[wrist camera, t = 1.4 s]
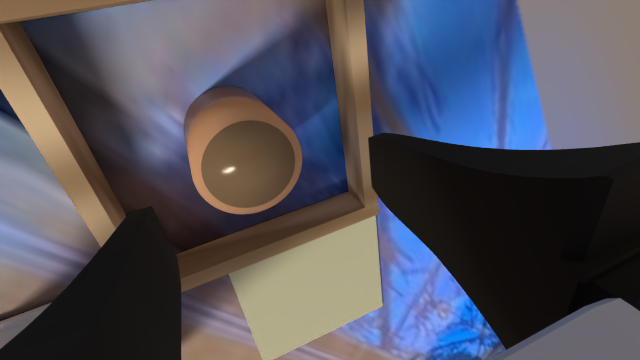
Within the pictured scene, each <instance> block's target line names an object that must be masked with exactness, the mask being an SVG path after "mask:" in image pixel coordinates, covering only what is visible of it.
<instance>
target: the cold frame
mask: <svg viewBox="0 0 640 360" xmlns="http://www.w3.org/2000/svg"><path fill="white" fill-rule="evenodd" d="M145 1H151V0H0V89H1V90H2V92H3V93H4V95H5V97H6V98H7V100H8V101H9V103H10V104H11V106H12V108H13V109H14V111H15V112H16V114H17V115H18V117H19V119H20V120H21V122H22V123H23V125H24V127H25V128H26V130H27V131H28V133H29V134H30V136H31V138H32V139H33V141H34V142H35V144H36V146H37V147H38V149H39V150H40V152H41V153H42V155H43V157H44V158H45V160H46V161H47V163H48V164H49V166H50V168H51V169H52V171H53V172H54V174H55V176H56V177H57V179H58V180H59V182H60V183H61V185H62V187H63V188H64V190H65V191H66V193H67V195H68V196H69V198H70V199H71V201H72V202H73V204H74V206H75V207H76V209H77V210H78V212H79V213H80V215H81V217H82V218H83V220H84V221H85V223H86V225H87V226H88V228H89V229H90V231H91V232H92V234H93V236H94V237H95V239H96V240H97V242H98V243H99V245H100V247H102V246H103V245H104V244H105V242H106V241H107V240H108V239H109V237H110V236H111V235H112V233H113V232H114V231H115V230H116V228H117V227H118V226H119V225H120V223H121V222H122V221H123V220H124V219H125V217H126V214H125V213H124V211H123V209H122V207H121V205H120V203H119V202H118V200H117V198H116V196H115V194H114V193H113V191H112V189H111V187H110V185H109V183H108V182H107V180H106V178H105V176H104V174H103V172H102V171H101V169H100V167H99V165H98V163H97V161H96V160H95V158H94V156H93V154H92V152H91V150H90V149H89V147H88V145H87V143H86V141H85V140H84V138H83V136H82V134H81V132H80V130H79V129H78V127H77V125H76V123H75V121H74V119H73V118H72V116H71V114H70V112H69V110H68V108H67V107H66V105H65V103H64V101H63V99H62V98H61V96H60V94H59V92H58V90H57V88H56V87H55V85H54V83H53V81H52V79H51V77H50V76H49V74H48V72H47V70H46V68H45V66H44V65H43V63H42V61H41V59H40V57H39V55H38V54H37V52H36V50H35V48H34V46H33V45H32V43H31V41H30V39H29V37H28V35H27V34H26V32H25V30H24V28H23V26H22V24H21V23H20V22H22V21H29V20H35V19H41V18H47V17H53V16H59V15H65V14H71V13H77V12H83V11H90V10H96V9H102V8H108V7H114V6H120V5H126V4H132V3H138V2H145ZM325 3H326V11H327V19H328V28H329V36H330V44H331V52H332V60H333V68H334V76H335V85H336V93H337V101H338V109H339V117H340V125H341V134H342V142H343V150H344V158H345V166H346V174H347V182H348V192H345V193H342V194H339V195H337V196H334V197H331V198H328V199H326V200H323V201H320V202H317V203H315V204H312V205H309V206H307V207H304V208H301V209H298V210H296V211H293V212H290V213H287V214H285V215H282V216H279V217H277V218H274V219H271V220H268V221H266V222H263V223H260V224H257V225H255V226H252V227H249V228H246V229H244V230H241V231H238V232H236V233H233V234H230V235H227V236H225V237H222V238H219V239H216V240H214V241H211V242H208V243H206V244H203V245H200V246H197V247H195V248H192V249H189V250H186V251H184V252H181V253H178V254H176V256H177V259H178V266H179V272H180V279H181V293H182V292H184V291H187V290H189V289H192V288H195V287H197V286H200V285H202V284H205V283H207V282H210V281H212V280H215V279H217V278H220V277H222V276H225V275H227V274H230V273H232V272H235V271H237V270H240V269H242V268H245V267H247V266H250V265H252V264H255V263H257V262H260V261H262V260H265V259H267V258H270V257H272V256H275V255H277V254H280V253H282V252H285V251H287V250H290V249H292V248H295V247H298V246H300V245H303V244H305V243H308V242H310V241H313V240H315V239H318V238H320V237H323V236H325V235H328V234H330V233H333V232H335V231H338V230H340V229H343V228H345V227H348V226H350V225H353V224H355V223H358V222H360V221H363V220H365V219H368V218H370V217H373V216H375V215H378V214H379V210H378V196H377V194H376V192H375V191H374V190H373V188H372V184H371V171H370V158H369V145H368V138H369V137H372V136H373V126H372V112H371V97H370V83H369V69H368V55H367V41H366V27H365V13H364V0H325Z"/></svg>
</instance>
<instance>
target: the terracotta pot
mask: <svg viewBox="0 0 640 360" xmlns="http://www.w3.org/2000/svg"><path fill="white" fill-rule="evenodd" d="M184 136H185V142H186V147H187V152H188V158H189V163H190V168H191V174H192V178H193V182H194V184H195V186H196V189H197V190H198V192H199V193H200V195H201V196H202V197H203V198H204V199H205V200H206V201H207V202H208V203H209V204H211V205H212V206H214V207H215V208H217V209H220V210H222V211H225V212H228V213H233V214H252V213H257V212H260V211H264V210H266V209H268V208H270V207H272V206H274V205H276V204H277V203H279V202H280V201H281V200H282V199H284V198H285V197H286V196H287V195H288V194H289V192H290V191H291V190H292V189H293V187H294V186H295V184H296V182H297V180H298V178H299V175H300V172H301V168H302V149H301V146H300V143H299V140H298V138H297V136H296V135H295V133H294V131H293V130H292V129H291V128H290V127H289V126H288V125H287V124H286V123H285V122H284V121H283V120H282V119H281V118H280V117H278V116H277V115H276V114H275V113H274V112H273V111H272V110H271V109H270V108H269V107H268V106H267V105H265V104H264V103H263V102H262V101H261V100H260V99H259V98H258V97H257V96H256V95H254V94H253V93H251V92H249V91H247V90H245V89H242V88H239V87H234V86H221V87H216V88H213V89H210V90H208V91H206V92H204V93H203V94H201V95H200V96H199V97H198V98H196V99H195V100H194V102H193V103H192V104H191V106H190V107H189V109H188V111H187V113H186V116H185V119H184Z"/></svg>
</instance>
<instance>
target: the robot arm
mask: <svg viewBox="0 0 640 360" xmlns="http://www.w3.org/2000/svg"><path fill="white" fill-rule="evenodd" d="M368 145H369V158H370V171H371V184H372V188H373V190H374V191H375V192H376V194H377V195H378V196H379V198H380V199H381V200H382V202H383V203H384V204H385V205H386V207H387V208H388V209H389V210H390V211H391V212H392V213H393V214H394V215H395V216H396V217H397V218H398V219H399V220H400V221H401V222H402V223H403V224H404V225H405V226H406V227H407V228H409V229H410V230H411V231H412V232H413V233H414V234H415V235H416V236H417V237H418V238H419V239H420V240H421V241H422V242H423V243H424V244H425V245H426V246H427V247H428V248H429V249H430V250H431V251H432V252H433V253H434V254H435V255H436V256H437V258H438V259H439V260H440V261H441V262H442V264H443V265H444V266H445V267H446V268H447V270H448V271H449V272H450V273H451V275H452V276H453V277H454V278H455V279H456V281H457V282H458V283H459V285H460V286H461V287H462V289H463V290H464V291H465V292H466V294H467V295H468V296H469V298H470V299H471V300H472V301H473V303H474V304H475V306H476V307H477V308H478V310H479V311H480V313H481V314H482V315H483V317H484V318H485V319H486V321H487V322H488V324H489V325H490V326H491V328H492V329H493V331H494V332H495V334H496V335H497V336H498V338H499V339H500V341H501V342H502V344H503V345H504V347H505V348H506V351H504V352H502V353H500V354H498V355H497V356H495V357H493V358H491V359H489V360H640V142H639V143H630V144H621V145H613V146H603V147H594V148H578V149H561V150H508V149H493V148H480V147H471V146H464V145H457V144H450V143H444V142H438V141H433V140H427V139H422V138H417V137H411V136H406V135H400V134H393V133H381V134H378V135H375V136H372V137H369V138H368ZM0 360H181V279H180V272H179V266H178V259H177V256H176V254H175V252H174V250H173V248H172V246H171V244H170V242H169V240H168V238H167V236H166V234H165V232H164V230H163V228H162V226H161V224H160V222H159V220H158V218H157V216H156V214H155V212H154V210H153V208H152V206H150V207H147V208H144V209H141V210H138V211H134V212H131V213H129V214H128V215H127V216H126V217H125V219H124V220H123V221H122V222H121V223H120V225H119V226H118V227H117V228H116V230H115V231H114V232H113V233H112V235H111V236H110V237H109V239H108V240H107V241H106V242H105V244H104V245H103V246H102V247H101V249H100V250H99V251H98V252H97V253H96V255H95V256H94V257H93V258H92V260H91V261H90V262H89V263H88V264H87V265H86V266H85V267H84V269H83V270H82V271H81V272H80V273H79V274H78V275H77V276H76V278H75V279H74V280H73V281H72V282H71V283H70V284H69V286H68V287H67V288H66V289H65V290H64V291H63V292H62V293H61V294H60V295H59V296H58V297H57V298H56V299H55V300H54V301H53V302H52V303H49V304H46V305H43V306H41V307H38V308H35V309H33V310H30V311H27V312H24V313H22V314H19V315H16V316H14V317H11V318H8V319H5V320H3V321H0Z"/></svg>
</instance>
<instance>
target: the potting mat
mask: <svg viewBox="0 0 640 360" xmlns="http://www.w3.org/2000/svg"><path fill="white" fill-rule="evenodd" d="M229 277H230V279H231V282H232V284H233V287H234V290H235V292H236V295H237V297H238V300H239V302H240V305H241V307H242V310H243V312H244V315H245V317H246V320H247V322H248V325H249V327H250V330H251V332H252V335H253V337H254V340H255V342H256V345H257V347H258V350H259V352H260V355H261V357H262V360H273V359H275V358H277V357H279V356H281V355H283V354H285V353H287V352H289V351H292V350H294V349H296V348H298V347H300V346H302V345H304V344H306V343H308V342H310V341H312V340H314V339H316V338H318V337H320V336H322V335H324V334H327V333H329V332H331V331H333V330H335V329H337V328H339V327H341V326H343V325H345V324H347V323H349V322H351V321H353V320H355V319H357V318H359V317H362V316H364V315H366V314H368V313H370V312H372V311H374V310H376V309H378V308H380V307H382V306H383V304H382V291H381V278H380V265H379V252H378V239H377V226H376V215H375V216H373V217H370V218H368V219H365V220H363V221H360V222H358V223H355V224H353V225H350V226H348V227H345V228H343V229H340V230H338V231H335V232H333V233H330V234H328V235H325V236H323V237H320V238H318V239H315V240H313V241H310V242H308V243H305V244H303V245H300V246H298V247H295V248H292V249H290V250H287V251H285V252H282V253H280V254H277V255H275V256H272V257H270V258H267V259H265V260H262V261H260V262H257V263H255V264H252V265H250V266H247V267H245V268H242V269H240V270H237V271H235V272H232V273H230V274H229Z"/></svg>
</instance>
